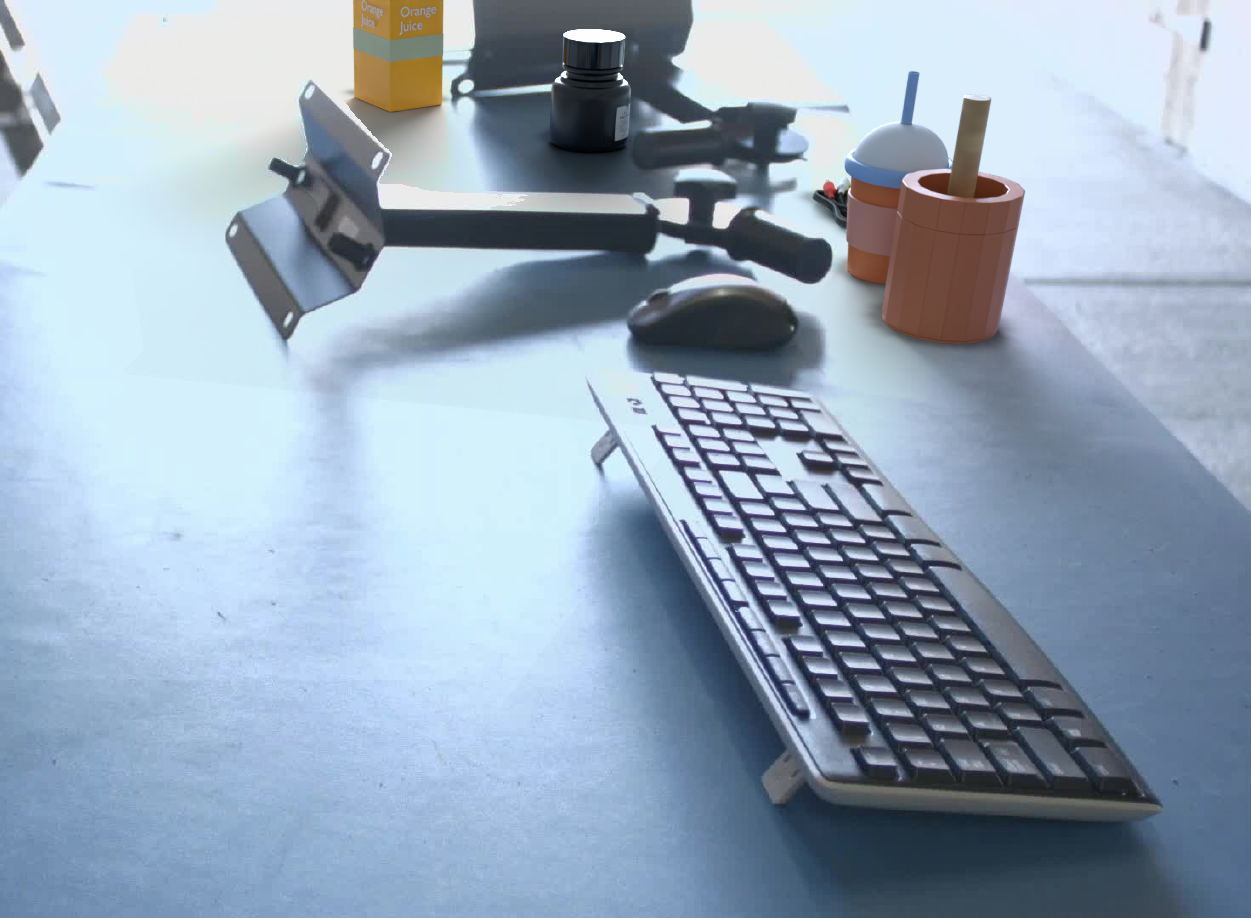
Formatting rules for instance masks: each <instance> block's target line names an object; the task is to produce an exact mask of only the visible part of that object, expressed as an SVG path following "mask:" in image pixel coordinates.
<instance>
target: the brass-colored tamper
mask: <svg viewBox="0 0 1251 918" xmlns="http://www.w3.org/2000/svg"><path fill="white" fill-rule="evenodd" d="M991 104H992V97H991V96H988V95H983V94H973V93H971V94H966V95H964V96H963V99H962V105H961V109H960V115H959V116H960V117H959V122H958V129H957V134H956V140H955V146H954V151H953V157H952V161H953V163H952V169H951V175H950V180H949V186H948V192H947V195H948V196H955V197H962V198H974V194H975V188H976V183H977V177H978V172H980V166H981V159H982V154H983V150H984V149H983V148H984V144H985V138H986V131H987V128H988V121H989V116H990V110H991Z"/></svg>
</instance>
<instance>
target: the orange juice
mask: <svg viewBox="0 0 1251 918" xmlns="http://www.w3.org/2000/svg"><path fill="white" fill-rule="evenodd" d="M352 5H353V6H352V11H353V12H352V15H353V16H352V17H353V18H352V19H353V20H352V21H353V22H352V23H353V24H352V25H353V27H352V45H353V46H352V48H353V96H354V98H355V97H356V98H355V99H358V100H360V101H363V102H365V103H368V104H370V105H372V106H375V107H377V108H380V109H382V110H383V111H387V112H389V113H392V112H399V111H406V110H413V109H420V108H427V107H433V106H442V105H443V64H444V63H443V58H444V57H443V56H444V0H352Z"/></svg>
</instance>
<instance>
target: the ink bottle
mask: <svg viewBox="0 0 1251 918" xmlns="http://www.w3.org/2000/svg"><path fill="white" fill-rule="evenodd" d="M562 39H563V41H562V58H561V59H562V60H561V61H562V65H561V67H562V69H563V70H564V71H563V72H562V73H561V74H560V76H559V77H557V78H556V79H555V80H554V81H552V85H551V90H550V107H549V108H550V109H549V113H550V114H549V129H548V138H549V141H550V142H551V143H552V144H553V145H555V146H556V147H559V148H561V149H565V150H569V151H575V152H606V151H614V150H615V151H616V150H618V149H621V148H623V147H624V146H626V144H627V143H628V137H629V127H630V115H631V97H632V96H631V95H632V89H631V86H630V84H629V83H628V81H627V80H625V79H624V76H623V75H621V72H622V71H623V69H624V63H625V62H624V61H625V50H626V49H625V47H626V36H625V35H624V34H623V33H621V32H617V31H612V30H604V29H575V30H569V31H567V32H565V33H563V38H562Z"/></svg>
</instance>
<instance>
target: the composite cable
mask: <svg viewBox="0 0 1251 918" xmlns="http://www.w3.org/2000/svg"><path fill="white" fill-rule="evenodd" d="M850 188H851V180H850V179H849V178H848V177H847V176H845V177H843V178H841V179H840V180H839V182H838V184H837V187H836V186H835V184H834V182H833V181H830V180H829V179H825V181H824V183H823V185H822V189H816V190H814V193H813V195H812V197H811V198H812V199H813V201H815V202H816V203H818V204H820V205H821V206H824V207H826V208H827V209H829V210H830V211H832V213H833V215H834V219H835V222H836V223H837V224H838V225H839V226H840V227H843V228H847V207H848V191H849V189H850Z"/></svg>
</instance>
